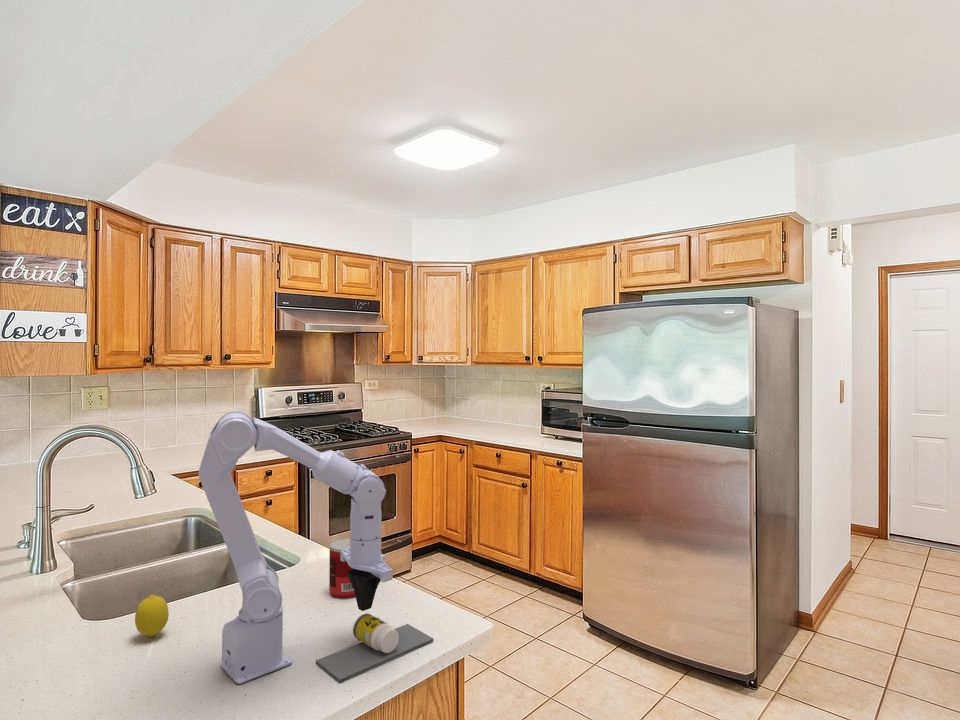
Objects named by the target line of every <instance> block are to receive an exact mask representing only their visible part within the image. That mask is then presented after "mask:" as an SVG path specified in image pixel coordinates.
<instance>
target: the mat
mask: <svg viewBox="0 0 960 720" xmlns="http://www.w3.org/2000/svg"><path fill="white" fill-rule="evenodd" d="M393 629H394V630H396V631H397V632H398V635H399V640H398V644H397V646H396V647H395V649H394V650H393V651H391V652H389V653H384V652H382V651H381V650H380V651H377V650H375V649H373V648H371V647H369V646H368V645H366V644H364V643H363V642H361V641H360V642H359V643H355V644H353V645H351V646H348V647H346V648H344V649H341V650H338V651H336V652H334V653H331V654H328V655H325V656H324V657H321V658H319V659H315V664H316V665H317V666H318V667H319V668H320V669H321V670H323V671H324V672H325V673H326V674H328V676H330V677H331V678H333V679H334V680H335V681H336V682H338V683H339V684H340V683H344V682H346V681H347V680H348V681H349V680H350V679H352V678H355V677H357V676H359V675H361V674H363V673H366V672H368V671H370V670H372V669H375V668H377V667H379V666H382V665H384V664H386V663H389V662H391V661H393V660H395V659H398V658H400V657H402V656H404V655H406V654H407V655H408V654H409V653H411V652H414V651H415V650H418V649H420V648H422V647H424V646H427V645H429V644H431V643H434V637H431V636H430V635H428V634H427V633H424V632H423V631H421V630H420V629H417V627H414V626H412V625H410V624H409V623H407V624H403V625H401V626H399V627H396V628H393Z"/></svg>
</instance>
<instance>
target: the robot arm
mask: <svg viewBox="0 0 960 720" xmlns="http://www.w3.org/2000/svg"><path fill="white" fill-rule="evenodd" d="M252 447H254V450H255V451H254V452H262V451H264V452H265V451H269V450H272V451H275V452H277V453H279V454H281V455H282V456H283V455H284V456H285V457H287V458H289V459H292V460H293V461H295V462H297V463H299V464H302V465H304V466H306V467H308V468H310V469H311V470H312V474H313V475H312V477H313V478H314V479H315V480H317V481H318V482H320V483H322V484H324V485H326V486H328V487H330V488H332V489H334V490H336V491H338V492H340V493H342V494H343V495H350V496H351V499H350V501H351V502H350V515H349V518H350V519H349V520H350V521H349V522H350V523H349V526H350V527H349V529H350V530H349V538H350V549H346V550H342V551H341V553H340V560H341V561H343V562H345V561H347V563H348V565H349V566H350V567H351V568H353V570H350V571H347V577H348V578H349V580H350V582H351V584H352V587H353V589H354V593H355V597H354V598H355V600H356V604H357V609H358V610H360V611H361V612H364V611H367V610H370V609H372V607H373V603H374V599H375V595H376V591H377V589H378V586H379V584H380V583H386V582H390V581H393V579H394V578H393V575H394V574H393V571H394V570H393V568H391V567H390V566H388V564H387V563H386V562H385V561H386V555H385V554H383V553H382V501H383V500H384V498H385V495H386V493H387V489H386V488H385V485H384V482H383V480H382V479H381V478H380V477H379V476H378V475H376V473H374V472H373V471H372V470H370V469H369V468H368V467H367V466H366V465H365V464H363V463H360V464H357V463H355V462H353V461H352V460H350V459H349V458H347V457H345V453H344V452H342V451H341V450H339V449H337V450H336V451H334V450H331V449H330V450H326V451H323V452H321V451H318V450H316V449H315V448H313V447H311V446H310V445H308V444H306V443H304V442H303V441H301V440H299V439H297V438H296V437H294V436H292V435H291V434H289V433H288V432H286V431H285V430H282V429H280V428H278V427H277V426H275V425H274V424H271V423H269V422H266V421H264V420H261V419H259V418H256V417H253V419H252V418H251V416H250V415H248V414H247V413H245V412H243V411H238V410H236V411H235V410H234V411H229V412H226V413H225V414H223V415H222V416H221V417H220V418H219V419H218V421H217V422H216V423H215V425H214V426H213V427H212V429H211V430H210V433H209V435H208V439H207V442H206V445H205V448H204V452H203V455H202V458H201V462H200V465H199V469H198V473H197V474H198V478H199V480H200V483H201V486H202V488H203V490H204V493H205V495H206V499H207V501H208V503H209V506H210V508H211V511H212V514H213V516H214V518H215V521H216V524H217V526H218V529H219V531H220V533H221V536H222V539H223V541H224V544H225V546H226V548H227V550H228V554H229V556H230V558H231V562H232V563H233V566H234V568H235V572H236V574H237V578H238V582H239V587H240V589H241V594H242V595H241V597H242V603H241V608H240V609H239V610H238V615H237V616H236V617H235V618H233V619H232V620H230V621H228V622H226V623H224V624H223V628H222V632H221V663H220V667H221V668H222V669H223V671H225V673H227V675H228V676H229V677H230V678H231V679H232V680H233V681H234V682H235V683H236V684H237V685H240V684H243V683H246V682H248V681H251V680H253V679H255V678H258V677H261V676H263V675H267V674H268V673H271V672H274V671H276V670H278V669H282V668H284V667H287V666H290V665H292V662H293V660H292V659H291V658H290V657H288V656H287V655H286V654H285V653H284V652H283V645H284V643H283V637H284V636H283V635H284V633H283V632H284V629H283V625H284V624H283V623H284V619H283V618H284V617H283V616H284V611H283V610H284V607H283V605H282V604H283V595H282V592H281V590H280V586H279V576H278V573H277V571H275V570H274V569H273V568H272V567H270V566H269V565H268V563H267V561H266V558H265V557H264V555H263V553H262V551H261V549H260V548H261V547H260V546H259V543H258V541H257V538H256V534H255V533H254V530H253V527H252V526H251V523H250V521H249V517H248V515H247V512H246V510H245V507H244V504H243V501H242V499H241V497H240V494H239V492H238V489H237V487H236V485H235V481H234V480H233V477H232V472H233V470H234V468H235V467H236V465H237V463H238V461H239V460H240V459H241V458H242V457H243V456H244V455H245V454H246V453H247V452H249V450H251V448H252Z"/></svg>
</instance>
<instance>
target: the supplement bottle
mask: <svg viewBox="0 0 960 720" xmlns="http://www.w3.org/2000/svg"><path fill="white" fill-rule="evenodd" d="M394 629H395V628H393V627H392V626H391V625H390V624H389V623H388V622H385V621H384V620H382V619H380V618H378V617H376V616H374V615H372V614H370V613H362V614H361V615H359V616H358V617H357V618H356V619H355V621H354V623H353V626H352V634H353V637H354V638H355V639H356V640H358V641H359V642H360V643H361V642H363V643H364V644H366V645H368V646H369V647H371V648H373V649H375V650H377V651H380V650H381V651H382V652H384V653H389V652H391V651H393V650H394V649H395V647H396V646H397V644H398V640H399V635H398V632H397V631H396V630H394Z"/></svg>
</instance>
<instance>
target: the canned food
mask: <svg viewBox="0 0 960 720" xmlns="http://www.w3.org/2000/svg"><path fill="white" fill-rule="evenodd" d="M346 549H350V537H349V538H343V539H341V538H340V539H337V540H335V541H333V542H331V543H330V545H329V563H328V565H329V570H328V572H329V577H328V579H329V584H328V585H329V587H328V588H329V589H328V590H329V594H330V596H332V597H333V596H334V598H336V597H338V598H337V599H342V598H345V599H353V598H356V597H355V593H354V589H353V587H352V584H351V582H350V580H349V578H348V577H347V571H350V570H353V568H351V567H350V566H349V565H348V563H347V561H345V562H343V561H341V560H340V553H341V551H342V550H346Z"/></svg>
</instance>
